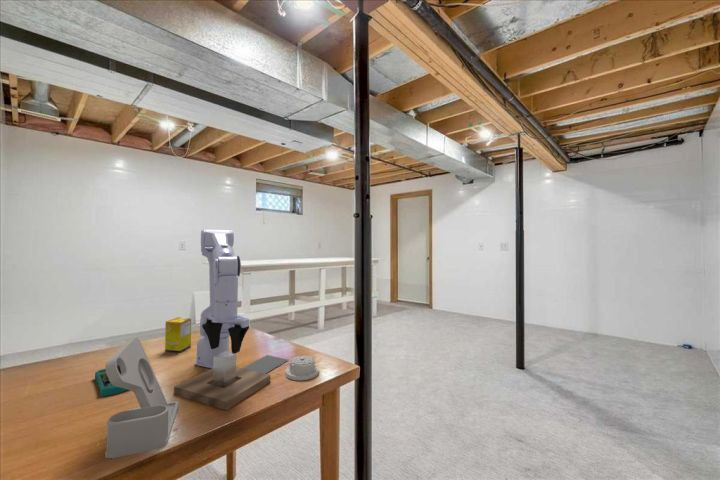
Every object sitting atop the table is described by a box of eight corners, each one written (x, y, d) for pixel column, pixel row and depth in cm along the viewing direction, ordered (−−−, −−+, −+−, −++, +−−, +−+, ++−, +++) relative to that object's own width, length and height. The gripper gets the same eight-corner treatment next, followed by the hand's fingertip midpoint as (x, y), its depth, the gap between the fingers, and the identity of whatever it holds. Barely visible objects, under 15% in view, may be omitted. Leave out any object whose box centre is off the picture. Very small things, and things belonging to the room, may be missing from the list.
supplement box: (176, 346, 113) (177, 317, 113) (191, 347, 113) (192, 317, 113) (164, 352, 107) (164, 321, 107) (179, 353, 107) (180, 322, 107)
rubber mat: (236, 371, 93) (236, 370, 93) (267, 356, 106) (267, 355, 106) (260, 377, 89) (260, 376, 89) (288, 360, 102) (288, 359, 102)
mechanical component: (279, 379, 89) (311, 383, 87) (279, 364, 89) (311, 367, 87) (293, 365, 99) (322, 369, 97) (293, 352, 99) (323, 355, 97)
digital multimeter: (100, 400, 76) (101, 388, 76) (94, 380, 87) (94, 369, 87) (136, 390, 82) (137, 379, 82) (126, 372, 92) (126, 362, 92)
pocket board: (173, 394, 79) (173, 386, 79) (222, 370, 94) (223, 363, 94) (226, 410, 72) (226, 401, 72) (270, 381, 87) (270, 374, 87)
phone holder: (166, 448, 59) (168, 355, 59) (100, 462, 55) (102, 362, 55) (179, 403, 75) (181, 330, 75) (129, 411, 71) (131, 334, 71)
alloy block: (212, 389, 82) (213, 356, 82) (224, 383, 86) (225, 351, 86) (224, 392, 80) (224, 358, 80) (235, 386, 84) (236, 353, 84)
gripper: (194, 300, 82) (193, 350, 82) (235, 305, 76) (234, 359, 76) (215, 296, 89) (214, 342, 88) (255, 301, 83) (254, 350, 83)
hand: (225, 350), depth 83 cm, fingers open, 7 cm apart
